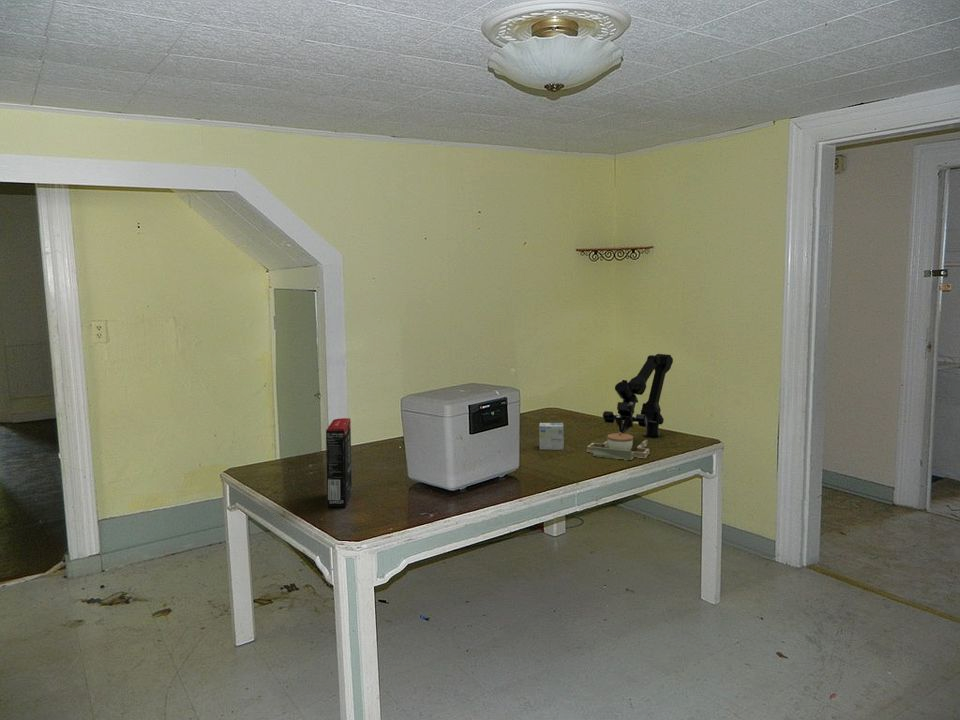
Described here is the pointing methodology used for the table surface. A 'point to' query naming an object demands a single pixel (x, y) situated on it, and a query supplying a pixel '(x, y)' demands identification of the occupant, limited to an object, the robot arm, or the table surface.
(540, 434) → the light bulb box
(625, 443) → the lidded jar
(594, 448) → the trap lane
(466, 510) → the table surface
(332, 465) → the graphics card box
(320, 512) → the table surface
